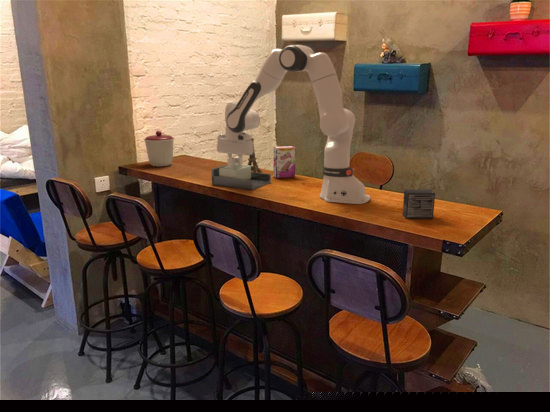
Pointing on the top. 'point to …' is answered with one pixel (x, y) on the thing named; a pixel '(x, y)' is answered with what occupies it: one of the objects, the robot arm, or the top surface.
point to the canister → (159, 149)
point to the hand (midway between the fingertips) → (235, 162)
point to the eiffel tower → (253, 161)
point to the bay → (240, 180)
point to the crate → (236, 170)
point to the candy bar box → (284, 162)
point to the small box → (418, 203)
